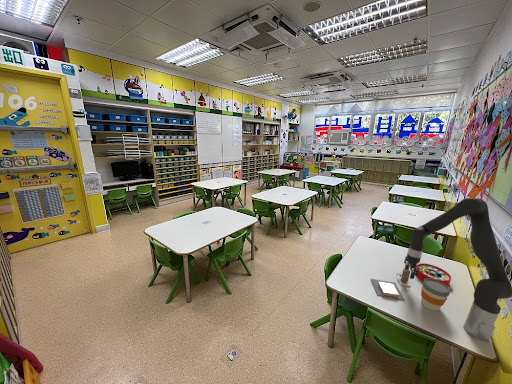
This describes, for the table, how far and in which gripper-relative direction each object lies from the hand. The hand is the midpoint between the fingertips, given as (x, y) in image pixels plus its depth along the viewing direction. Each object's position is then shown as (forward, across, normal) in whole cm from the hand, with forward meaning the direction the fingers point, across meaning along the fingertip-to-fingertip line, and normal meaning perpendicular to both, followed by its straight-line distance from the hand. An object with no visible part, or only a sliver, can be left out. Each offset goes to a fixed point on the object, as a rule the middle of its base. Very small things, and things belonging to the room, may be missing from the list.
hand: (408, 274), depth 144 cm
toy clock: (+8, +12, -21) cm, 26 cm away
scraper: (+8, 0, +2) cm, 8 cm away
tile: (+6, -12, +16) cm, 21 cm away
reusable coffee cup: (+8, -18, -6) cm, 21 cm away
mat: (+8, -10, +16) cm, 20 cm away
